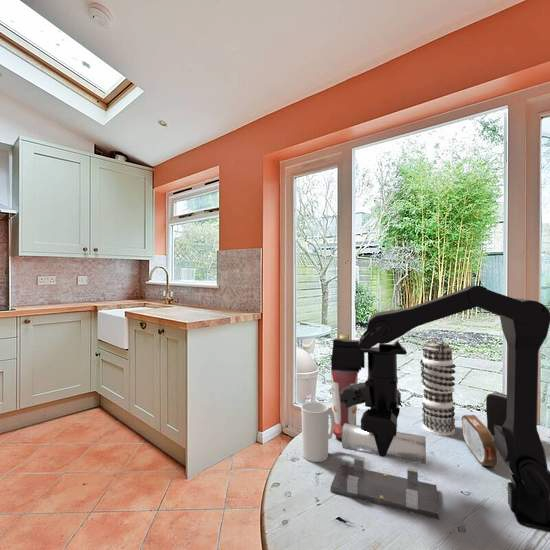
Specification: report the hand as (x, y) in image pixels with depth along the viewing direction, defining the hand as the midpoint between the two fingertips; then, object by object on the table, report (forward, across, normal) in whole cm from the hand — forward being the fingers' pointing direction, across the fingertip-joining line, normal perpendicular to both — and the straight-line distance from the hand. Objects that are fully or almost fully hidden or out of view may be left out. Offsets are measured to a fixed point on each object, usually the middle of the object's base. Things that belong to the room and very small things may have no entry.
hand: (383, 449), depth 67 cm
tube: (+1, 0, 0) cm, 1 cm away
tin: (+9, -23, +20) cm, 32 cm away
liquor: (+9, -20, -12) cm, 25 cm away
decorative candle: (+9, -35, +12) cm, 38 cm away
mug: (+9, -9, -16) cm, 20 cm away
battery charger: (+9, -37, +28) cm, 47 cm away
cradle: (+8, 0, 0) cm, 8 cm away
